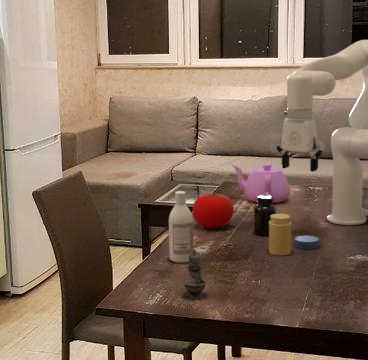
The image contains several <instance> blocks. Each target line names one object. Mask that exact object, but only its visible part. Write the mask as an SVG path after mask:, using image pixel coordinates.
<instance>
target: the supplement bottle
mask: <svg viewBox="0 0 368 360" xmlns="http://www.w3.org/2000/svg"><path fill="white" fill-rule="evenodd" d="M256 203H257V204H256V205H255V206H254V207H253V233H254V234H255V235H257V236H260V237H261V236H262V237H269V222H270V220H271V217H270V216H271V215H273V214H277V208H276V206H275V205H274V204H273V203H274V202H273V197H271V196H258V201H257V202H256Z"/></svg>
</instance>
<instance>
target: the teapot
mask: <svg viewBox="0 0 368 360" xmlns="http://www.w3.org/2000/svg"><path fill="white" fill-rule="evenodd" d="M231 167H233V168H234V169H235V171H236V175H237V185H238V187H239V189H240V190H241V191H243V193H244V195H245V197H246V198H247V199H248V200H249V201H251V202H255V203H257V201H258V196H271V197H273V203H274V204H276V203H277V204H278V203H281V202H284V201H285V200H286V199H287V198H288V197H289V196H290V194H291V188H290V184H289V182H288V179H287V177H286V176H285V174H284V173H283V171H282V169H281V168H278V167H272V164H271V163H263V164H262V167H256V168H254V169H253V170H252V171H251V173H250V174H249V176H248V178H247V179H246V180H245V179H244V177H243V170H242V168H241V167H239V166H238V165H233V164H232V165H231Z"/></svg>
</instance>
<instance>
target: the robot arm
mask: <svg viewBox="0 0 368 360" xmlns="http://www.w3.org/2000/svg"><path fill="white" fill-rule="evenodd" d="M360 71H361V74H362V83H363V89H362V92H361V94H360V95H359V97H358V99H357V101H356V103H355V104H354V106H353V107H352V110H351V111H350V113H349V115H348V124H349V126H344V127H340V128H339V127H338V128H337V129H336V130H334V131H333V133H332V134H331V136H330V149H331V153H332V169H333V170H332V199H331V202H332V204H331V207H332V208H331V214H328V215H327V216H326V220H327V221H328V222H329V223H332V224H335V225H340V226H356V225H357V226H359V225H362V224H365V223H366V222H367V216H368V208H366V209H365V208H364V207H363V184H364V183H363V182H364V168H363V164H362V162H361V160H360V159H364V160H365V159H366V160H368V39H360V40H358V41H355V42H354V43H352V44H350V45H349V46H347V47H346V48H344V49H342V50H340V51H339V52H337V53H335V54H333V55H329V56H326V57H323V58H320V59H316V60H313V61H310V62H307V63H306V64H304V65H302V66H300V67H299V68H297V69H296V70H295V71H293V73H291V74H289V75H288V76H287V79H286V109H284V110H283V115H286V118H284V120H283V125H282V133H281V137H280V138H277V139H276V140H274V141H273V143H274V145H275V147H276V150H277V151H278V153H279V155H280V156H281V168H282V169H287V168H289V167H290V154H289V152H292V153H303V154H309V155H310V157H311V158H310V159H309V160H310V161H309V164H310V165H309V169H310V172H312V173H313V172H315V171H316V172H317V171H318V169H319V158H321V156H322V155H323V154H324V152H325V150H326V148H327V144H326V143H324V142H323V141H321V140H320V139H318V133H317V126H316V122H315V121H316V120H315V119H314V118H313V104H314V103H313V102H314V101H313V99H314V98H313V97H314V96H315V97H316V96H318V97H323V96H328V95H329V94H331V93H332V92H333V91H334V90H335V88H336V81H342V80H346V79H348V78H351V77H352V76H354V75H355V74H357V73H358V72H360ZM318 147H319V148H318ZM317 149H318V150H317Z"/></svg>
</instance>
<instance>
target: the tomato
mask: <svg viewBox="0 0 368 360" xmlns="http://www.w3.org/2000/svg"><path fill="white" fill-rule="evenodd" d="M234 210H235V208H234V204H233V202H232V200H231V199H230V198H229V197H228V196H227V195H225V194H223V193H222V194H221V193H216V192H207V193H203V194H201V195H200V196H198V197H197V198H196V199H195V200H194V202H193V204H192V217H193V219H194V220H195V221H196V223H197V224H198V225H200V226H201V227H204V228H206V229H213V230H214V229H219V228H222V227H224V226H226V225H227V224H228V223H229V222H231V219H232V217H233V215H234Z"/></svg>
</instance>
